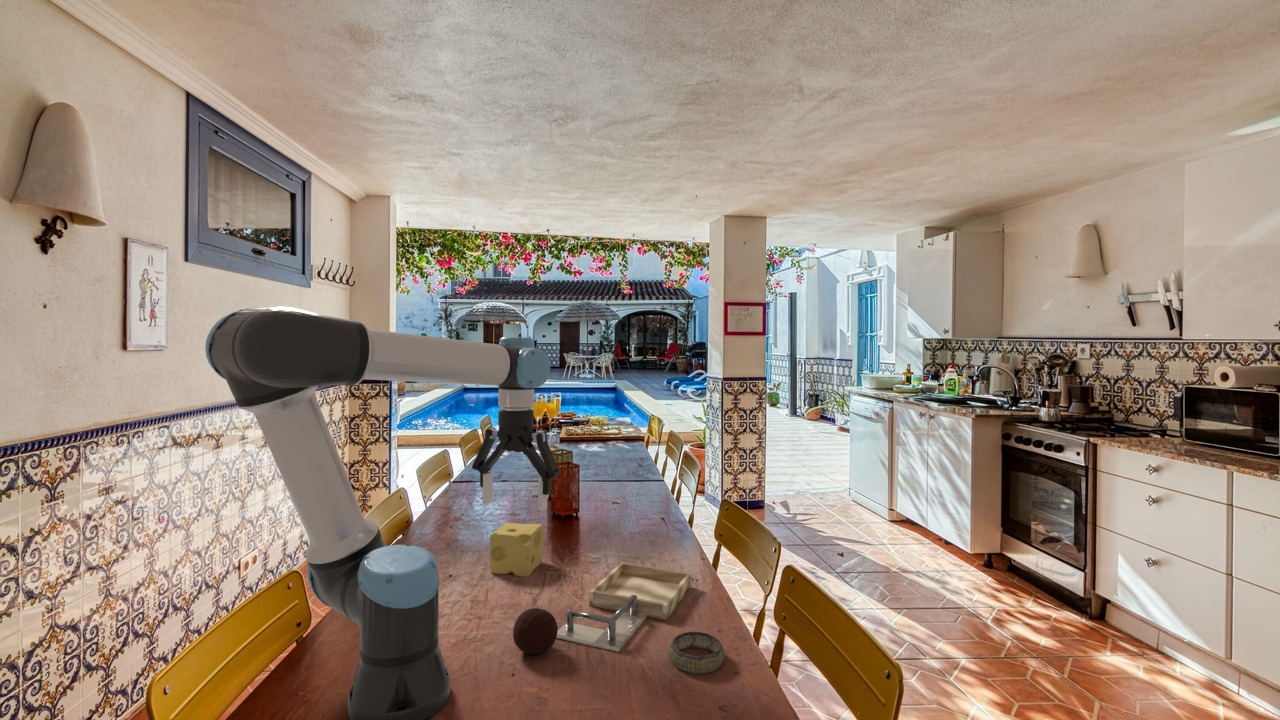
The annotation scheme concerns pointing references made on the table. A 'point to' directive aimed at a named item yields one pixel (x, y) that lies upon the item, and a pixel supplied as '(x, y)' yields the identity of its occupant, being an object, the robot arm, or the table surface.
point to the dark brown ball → (535, 631)
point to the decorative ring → (696, 662)
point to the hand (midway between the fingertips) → (514, 505)
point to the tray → (641, 589)
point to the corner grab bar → (610, 638)
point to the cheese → (516, 549)
